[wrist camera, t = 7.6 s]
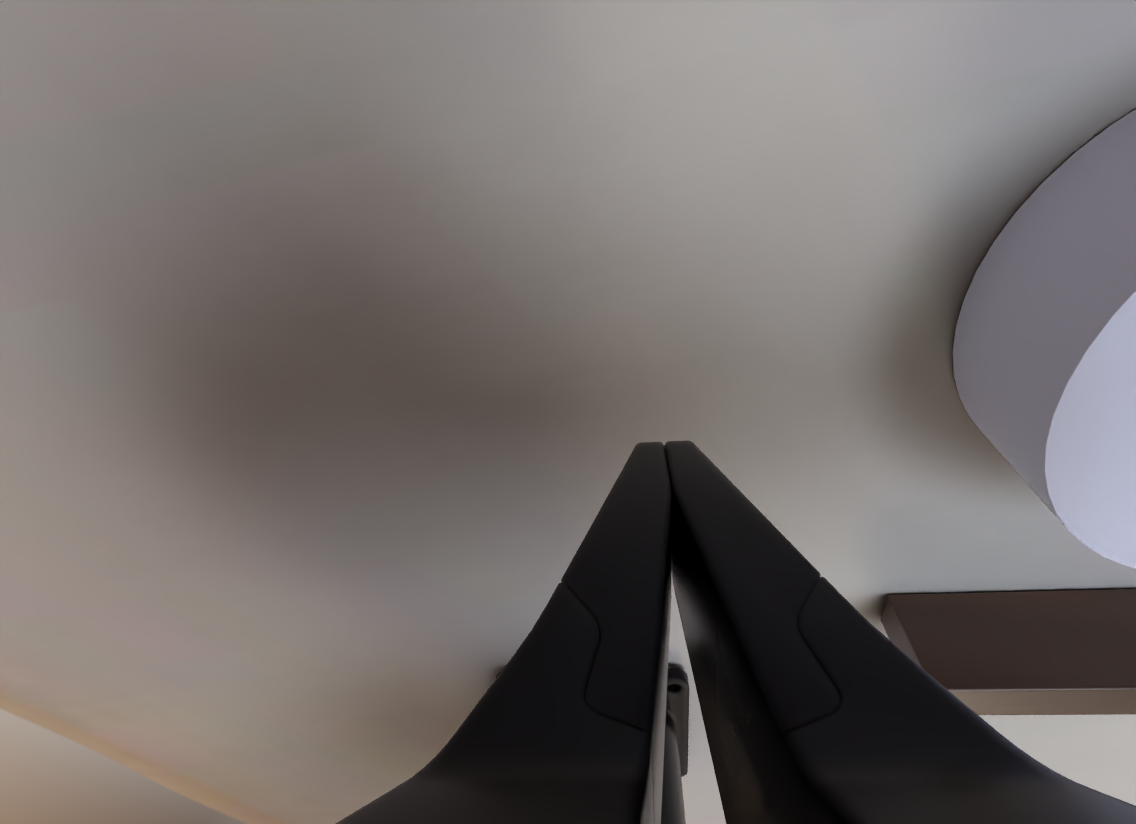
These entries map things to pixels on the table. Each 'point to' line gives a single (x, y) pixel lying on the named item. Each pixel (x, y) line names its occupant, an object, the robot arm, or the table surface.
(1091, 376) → the wedge on round base
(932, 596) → the bay
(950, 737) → the robot arm
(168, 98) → the table surface
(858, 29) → the table surface
